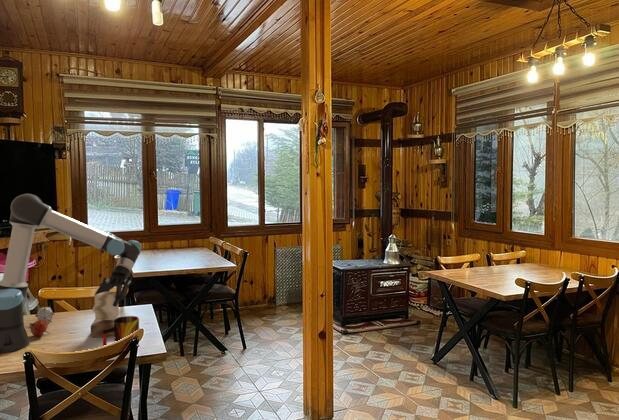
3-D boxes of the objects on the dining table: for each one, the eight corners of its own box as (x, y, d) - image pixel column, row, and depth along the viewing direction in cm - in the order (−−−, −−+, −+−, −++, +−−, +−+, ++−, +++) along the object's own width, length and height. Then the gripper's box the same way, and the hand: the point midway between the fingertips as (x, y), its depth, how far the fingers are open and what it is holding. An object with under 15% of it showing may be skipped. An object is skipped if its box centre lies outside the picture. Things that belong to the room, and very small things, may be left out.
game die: (47, 330, 227) (46, 317, 222) (31, 324, 227) (29, 311, 222) (59, 317, 235) (58, 304, 229) (43, 311, 235) (42, 298, 229)
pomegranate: (45, 336, 214) (24, 327, 209) (55, 323, 215) (35, 313, 210) (45, 343, 207) (23, 333, 203) (56, 329, 209) (35, 319, 204)
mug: (102, 354, 186) (101, 325, 185) (124, 342, 199) (124, 315, 198) (123, 356, 183) (122, 327, 183) (144, 344, 197) (143, 316, 196)
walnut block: (91, 339, 204) (90, 326, 204) (95, 330, 216) (95, 318, 215) (120, 336, 207) (119, 323, 207) (123, 328, 219) (123, 316, 219)
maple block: (95, 319, 209) (94, 294, 208) (105, 314, 215) (104, 291, 215) (109, 319, 207) (108, 295, 206) (118, 315, 214) (118, 292, 213)
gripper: (144, 274, 223) (125, 317, 208) (108, 272, 227) (86, 314, 212) (138, 265, 217) (117, 308, 203) (101, 264, 222) (78, 306, 207)
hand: (101, 311), depth 208 cm, fingers closed on maple block, 7 cm apart
